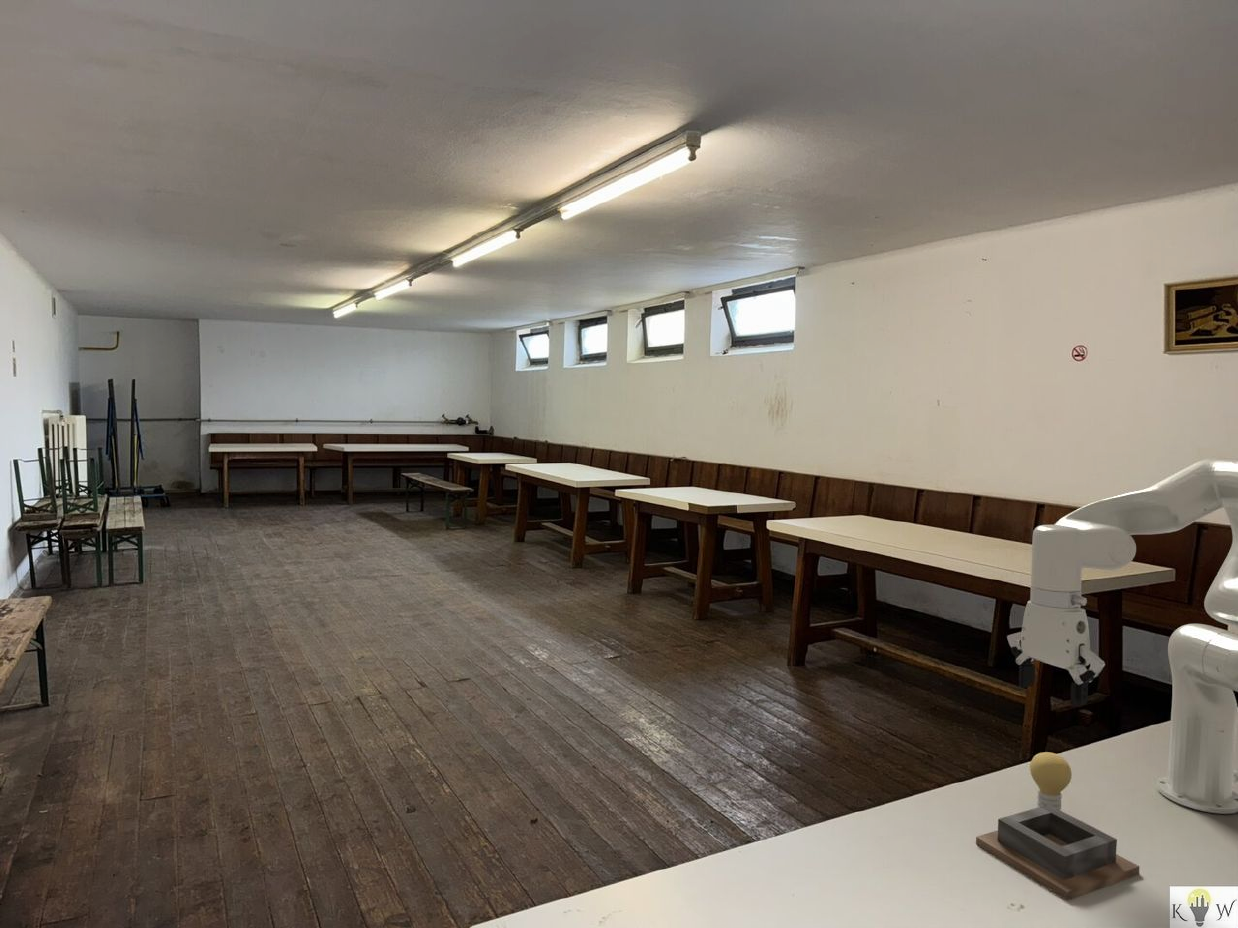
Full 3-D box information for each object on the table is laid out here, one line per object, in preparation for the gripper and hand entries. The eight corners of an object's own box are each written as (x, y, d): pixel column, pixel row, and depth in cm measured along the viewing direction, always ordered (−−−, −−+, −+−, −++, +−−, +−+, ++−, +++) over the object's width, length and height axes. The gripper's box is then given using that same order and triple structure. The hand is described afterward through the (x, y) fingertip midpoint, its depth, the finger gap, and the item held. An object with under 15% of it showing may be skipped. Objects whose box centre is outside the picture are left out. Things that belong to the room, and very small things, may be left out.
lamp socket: (1044, 822, 134) (1045, 795, 134) (1139, 873, 120) (1140, 843, 119) (975, 843, 128) (977, 815, 127) (1067, 899, 113) (1068, 867, 113)
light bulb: (1075, 820, 135) (1077, 763, 134) (1034, 816, 136) (1037, 760, 136) (1062, 802, 141) (1064, 747, 141) (1023, 798, 143) (1026, 744, 142)
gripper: (1119, 606, 128) (1115, 709, 129) (1025, 585, 144) (1022, 676, 145) (1089, 612, 125) (1085, 716, 126) (996, 589, 141) (993, 683, 142)
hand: (1051, 695), depth 136 cm, fingers open, 9 cm apart
